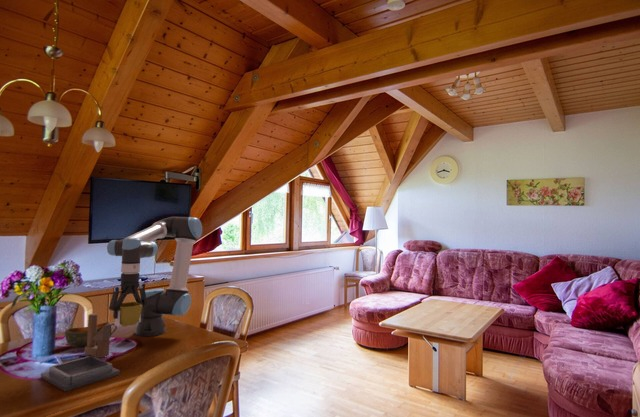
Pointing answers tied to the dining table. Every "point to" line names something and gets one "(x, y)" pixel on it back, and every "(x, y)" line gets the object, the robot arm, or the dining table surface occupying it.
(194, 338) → the dining table surface
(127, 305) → the flower pot
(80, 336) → the cup
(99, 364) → the collar stand
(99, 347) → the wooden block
